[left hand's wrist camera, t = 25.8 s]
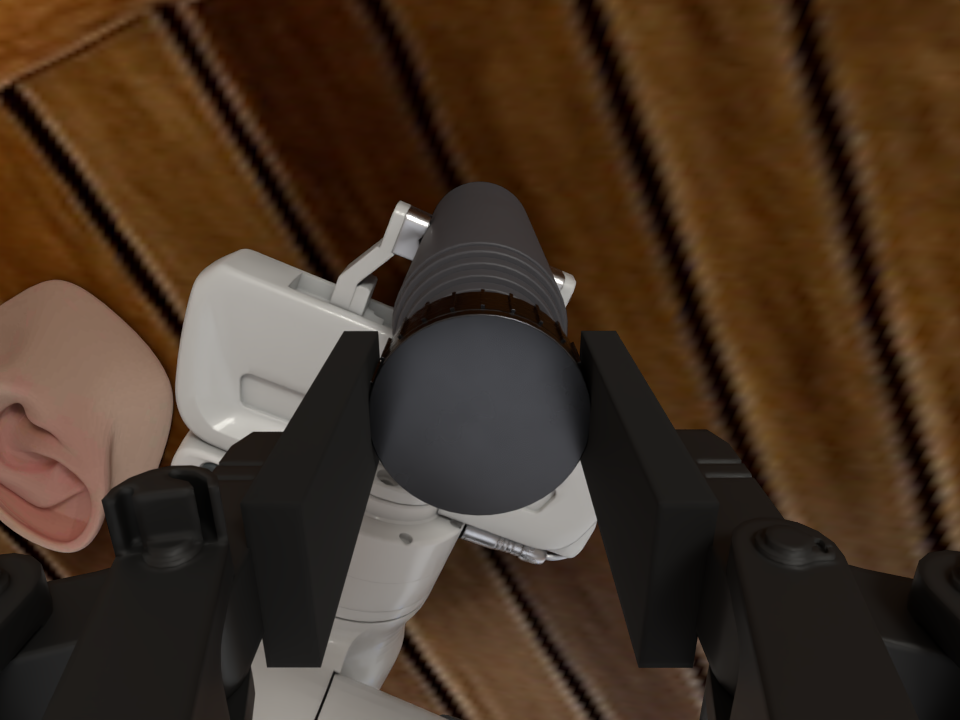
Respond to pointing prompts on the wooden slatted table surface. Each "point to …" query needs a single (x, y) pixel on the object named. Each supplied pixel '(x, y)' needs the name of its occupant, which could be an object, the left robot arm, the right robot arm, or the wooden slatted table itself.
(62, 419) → the anatomical model
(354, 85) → the wooden slatted table surface
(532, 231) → the bottle
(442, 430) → the cap
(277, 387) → the right robot arm
